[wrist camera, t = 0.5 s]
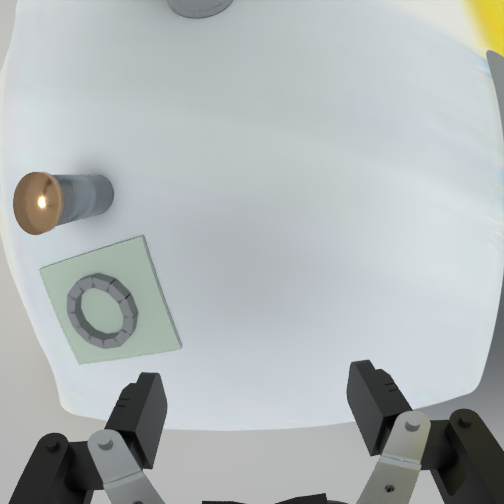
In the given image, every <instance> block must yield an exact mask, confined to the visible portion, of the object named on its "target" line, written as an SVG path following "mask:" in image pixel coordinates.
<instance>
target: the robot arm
mask: <svg viewBox="0 0 504 504" xmlns="http://www.w3.org/2000/svg"><path fill="white" fill-rule="evenodd" d="M168 2H169V5H170V6H171V8H172V9H173V10H174V11H175V12H176V13H178V14H179V15H182V16H185V17H190V18H202V17H208V16H211V15H214V14H217V13H219V12H221V11H222V10H224V9H225V8H226V7H228V5H229V4H230V3H231V2H232V0H168ZM347 400H348V403H349V406H350V408H351V411H352V413H353V415H354V418H355V420H356V422H357V425H358V427H359V429H360V432H361V434H362V436H363V439H364V442H365V444H366V446H367V448H368V451H369V454H370V456H375V455H379V454H380V458H379V460H378V462H377V464H376V466H375V468H374V470H373V472H372V475H371V476H370V478H369V480H368V482H367V484H366V486H365V488H364V490H363V492H362V494H361V496H360V498H359V499H358V501H357V503H356V504H408V503H409V500H410V497H411V495H412V492H413V490H414V487H415V484H416V481H417V478H418V475H419V472H420V470H430V471H431V474H432V476H433V478H434V480H435V483H436V485H437V487H438V489H439V492H440V494H441V496H442V499H443V501H444V503H445V504H504V451H503V450H502V448H501V447H500V445H499V444H498V442H497V441H496V439H495V438H494V436H493V435H492V434H491V432H490V431H489V429H488V428H487V426H486V425H485V423H484V422H483V421H482V419H481V418H480V417H479V415H478V414H477V413H476V412H474V411H472V410H469V409H459V410H456V411H454V412H453V413H452V414H451V416H450V418H449V420H435V421H433V420H432V421H431V420H429V418H428V417H427V416H426V415H425V414H423V413H420V412H417V411H413V410H412V408H411V407H410V405H409V403H408V402H407V400H406V399H405V397H404V396H403V394H402V393H401V391H400V390H399V388H398V387H397V385H396V384H395V382H394V380H393V379H392V377H391V376H390V375H389V374H388V373H386V372H385V371H383V370H382V369H377V370H375V368H374V366H373V365H372V363H371V362H370V360H362V361H355V362H352V363H351V365H350V371H349V378H348V384H347ZM166 414H167V399H166V395H165V392H164V388H163V384H162V380H161V376H160V374H159V373H147V372H142V373H141V374H140V376H139V378H138V380H137V382H136V383H130V384H129V385H128V386H126V387H125V388H124V389H123V390H122V392H121V394H120V396H119V400H117V403H116V406H115V407H114V409H113V411H112V413H111V415H110V418H109V420H108V422H107V424H106V426H105V428H104V430H100V431H97V432H95V433H94V434H92V435H91V436H90V438H89V440H88V441H82V442H68V440H67V438H66V437H65V436H64V435H62V434H60V433H50V434H47V435H45V436H43V437H42V438H41V439H40V440H39V442H38V444H37V446H36V448H35V449H34V451H33V453H32V455H31V457H30V459H29V461H28V463H27V465H26V467H25V469H24V471H23V474H22V475H21V477H20V480H19V482H18V484H17V486H16V488H15V490H14V492H13V495H12V497H11V499H10V501H9V504H90V502H91V499H92V495H93V492H94V490H105V491H106V493H107V495H108V497H109V499H110V501H111V503H112V504H165V503H164V501H163V500H162V499H161V497H160V496H159V494H158V493H157V491H156V490H155V489H154V487H153V486H152V484H151V483H150V481H149V480H148V478H147V477H146V475H145V474H144V472H143V468H144V469H152V468H153V464H154V460H155V456H156V452H157V448H158V445H159V441H160V437H161V433H162V429H163V426H164V422H165V418H166ZM202 504H244V503H239V502H233V501H223V502H222V501H202ZM276 504H347V503H344V502H339V501H332V500H327V498H326V494H325V493H323V494H317V495H311V496H302V497H295V498H292V499H289V500H286V501H282V502H279V503H276Z"/></svg>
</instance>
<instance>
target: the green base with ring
mask: <svg viewBox="0 0 504 504" xmlns="http://www.w3.org/2000/svg"><path fill="white" fill-rule="evenodd" d="M39 271H40V274H41V277H42V280H43V283H44V285H45V288H46V291H47V293H48V296H49V299H50V301H51V304H52V306H53V309H54V311H55V314H56V316H57V318H58V321H59V323H60V325H61V327H62V330H63V332H64V334H65V336H66V339H67V341H68V343H69V345H70V347H71V349H72V351H73V353H74V355H75V357H76V359H77V361H78V363H79V364H88V363H96V362H103V361H110V360H117V359H124V358H131V357H137V356H143V355H150V354H155V353H161V352H167V351H172V350H178V349H181V347H182V344H181V341H180V339H179V336H178V334H177V331H176V328H175V326H174V323H173V320H172V318H171V315H170V312H169V310H168V307H167V304H166V301H165V298H164V296H163V293H162V290H161V287H160V284H159V281H158V278H157V275H156V272H155V269H154V266H153V263H152V260H151V257H150V254H149V251H148V247H147V244H146V241H145V238H144V235H143V236H140V237H136V238H133V239H130V240H126V241H123V242H120V243H117V244H114V245H110V246H107V247H104V248H101V249H98V250H94V251H91V252H88V253H85V254H82V255H79V256H76V257H73V258H70V259H67V260H64V261H61V262H58V263H55V264H52V265H49V266H46V267H43V268H41V269H39Z"/></svg>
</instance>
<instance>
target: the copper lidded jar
mask: <svg viewBox="0 0 504 504" xmlns="http://www.w3.org/2000/svg"><path fill="white" fill-rule="evenodd" d="M113 197H114V191H113V187H112V184H111V183H110V181H109V180H108V179H107V178H106V177H104V176H102V175H51V174H49V173H46V172H32V173H29V174H27V175H25V176H24V177H23V178H22V179H21V180H20V182H19V183H18V185H17V187H16V190H15V193H14V199H13V208H14V214H15V217H16V220H17V222H18V224H19V225H20V227H21V228H22V229H23V230H24V231H25V232H27V233H29V234H32V235H39V234H42V233H45V232H48V231H50V230H52V229H53V228H54V227H55V226H58V225H61V224H65V223H68V222H72V221H75V220H79V219H83V218H86V217H90V216H94V215H97V214H101V213H104V212H105V211H106V210H108V208H109V207H110V206H111V204H112V201H113Z"/></svg>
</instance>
